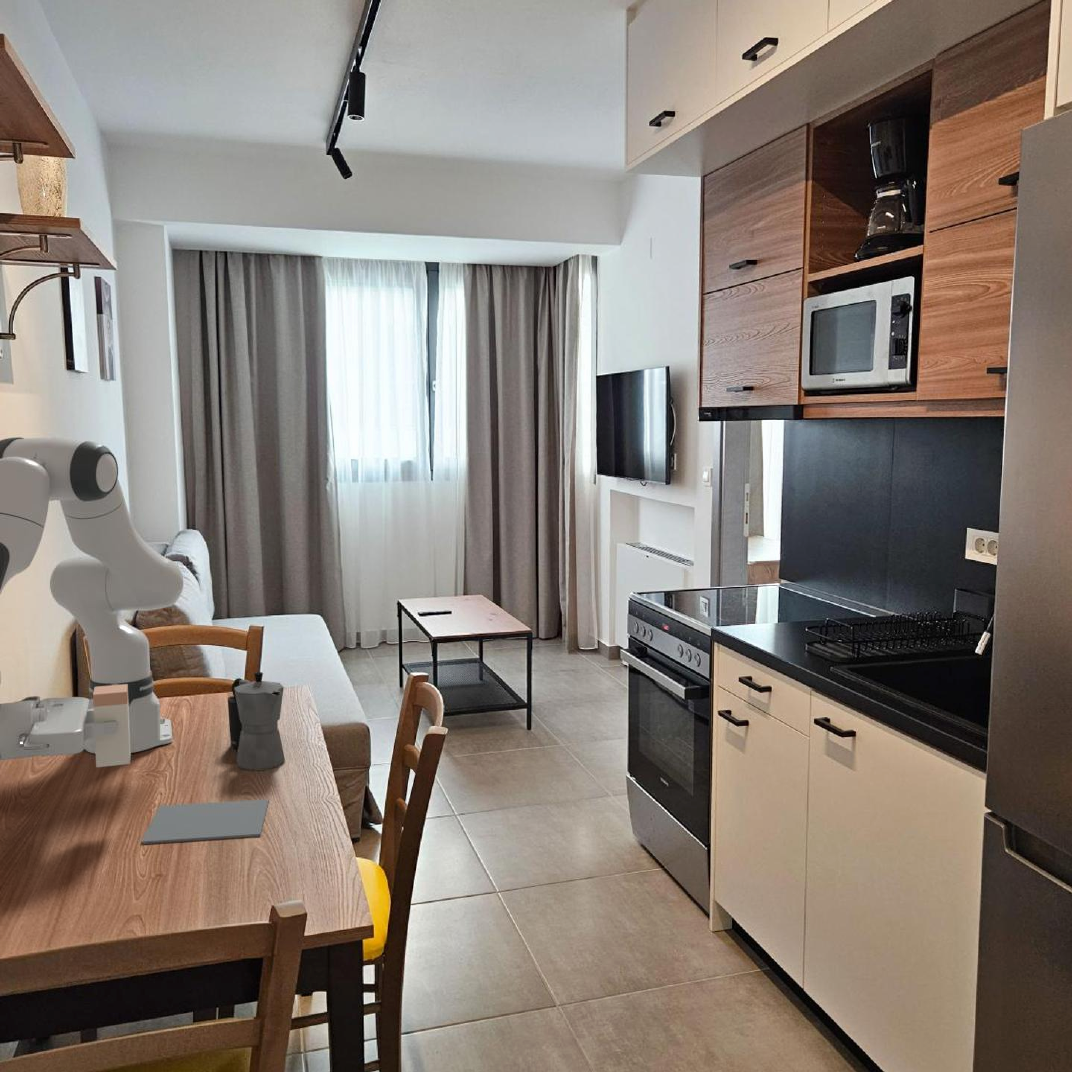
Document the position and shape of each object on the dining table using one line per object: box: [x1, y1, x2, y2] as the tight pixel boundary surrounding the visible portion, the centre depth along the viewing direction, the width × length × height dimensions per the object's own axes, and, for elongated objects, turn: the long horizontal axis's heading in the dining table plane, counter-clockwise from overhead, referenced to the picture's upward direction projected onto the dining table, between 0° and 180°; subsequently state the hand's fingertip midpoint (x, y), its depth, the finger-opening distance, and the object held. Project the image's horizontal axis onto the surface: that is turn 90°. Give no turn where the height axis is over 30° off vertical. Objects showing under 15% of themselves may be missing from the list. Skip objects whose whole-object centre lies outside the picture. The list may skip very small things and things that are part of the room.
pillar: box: [93, 684, 132, 768], centre depth 160 cm, size 5×5×12 cm
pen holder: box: [227, 695, 242, 751], centre depth 201 cm, size 9×9×10 cm
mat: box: [140, 798, 270, 845], centre depth 162 cm, size 15×18×1 cm
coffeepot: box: [231, 671, 286, 771], centre depth 191 cm, size 15×9×18 cm, turn 50°
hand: (118, 720), depth 160 cm, fingers closed on pillar, 5 cm apart
